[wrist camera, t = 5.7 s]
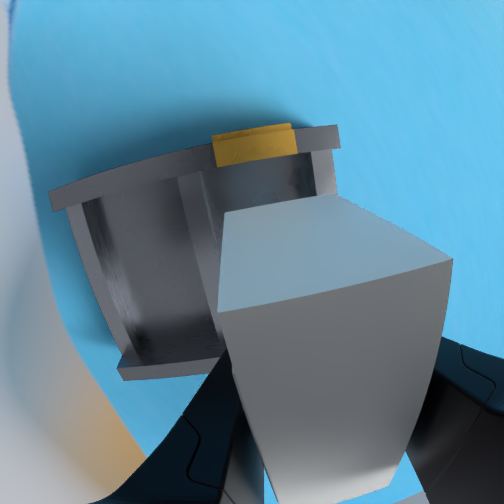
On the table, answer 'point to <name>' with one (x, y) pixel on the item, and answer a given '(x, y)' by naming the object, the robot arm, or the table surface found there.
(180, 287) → the grey divided tray
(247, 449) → the robot arm
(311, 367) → the white rectangular block
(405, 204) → the table surface
